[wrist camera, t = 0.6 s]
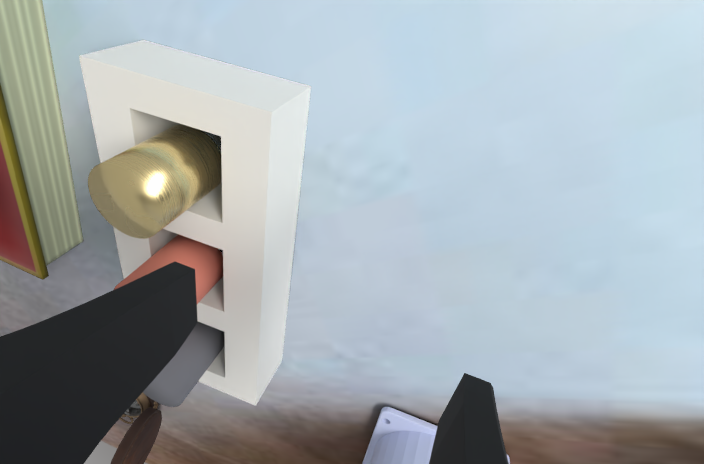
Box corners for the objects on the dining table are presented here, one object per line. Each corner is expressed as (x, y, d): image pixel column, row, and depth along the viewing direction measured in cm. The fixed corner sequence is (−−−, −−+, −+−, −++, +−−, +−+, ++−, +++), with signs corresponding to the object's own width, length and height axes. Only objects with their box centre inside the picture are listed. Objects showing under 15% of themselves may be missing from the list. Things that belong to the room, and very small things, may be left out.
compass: (95, 347, 36) (12, 424, 30) (179, 389, 35) (111, 477, 29) (102, 398, 41) (32, 473, 35) (176, 436, 40) (117, 519, 34)
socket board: (282, 360, 28) (255, 405, 26) (175, 318, 30) (139, 356, 27) (311, 86, 18) (271, 111, 15) (143, 39, 19) (78, 55, 16)
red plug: (225, 288, 22) (176, 345, 19) (175, 269, 23) (119, 321, 20) (225, 243, 21) (170, 297, 17) (170, 223, 21) (107, 272, 18)
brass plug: (224, 199, 19) (165, 249, 16) (166, 179, 20) (96, 223, 16) (223, 135, 17) (156, 177, 14) (159, 115, 18) (80, 152, 15)
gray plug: (226, 356, 26) (184, 414, 22) (182, 338, 26) (134, 392, 23) (226, 321, 24) (180, 379, 21) (178, 303, 24) (126, 356, 21)
